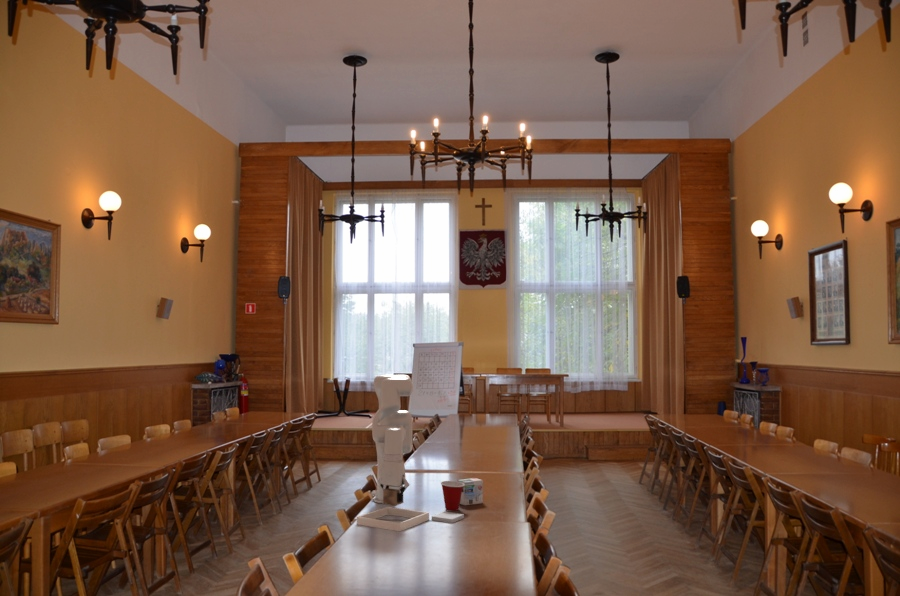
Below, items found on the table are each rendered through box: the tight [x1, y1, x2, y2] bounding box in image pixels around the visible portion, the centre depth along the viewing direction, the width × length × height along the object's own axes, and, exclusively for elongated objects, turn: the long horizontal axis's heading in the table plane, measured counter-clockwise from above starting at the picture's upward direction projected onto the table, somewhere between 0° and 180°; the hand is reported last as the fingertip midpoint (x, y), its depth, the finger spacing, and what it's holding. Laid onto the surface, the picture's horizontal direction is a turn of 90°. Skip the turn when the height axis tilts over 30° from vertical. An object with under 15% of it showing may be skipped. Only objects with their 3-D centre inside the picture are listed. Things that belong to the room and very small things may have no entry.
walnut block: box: [382, 487, 404, 507], centre depth 295 cm, size 6×6×6 cm
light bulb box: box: [456, 477, 484, 506], centre depth 330 cm, size 11×7×11 cm, turn 122°
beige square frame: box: [356, 506, 430, 532], centre depth 293 cm, size 22×22×3 cm
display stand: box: [431, 511, 465, 524], centre depth 299 cm, size 10×10×2 cm
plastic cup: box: [440, 480, 465, 512], centre depth 316 cm, size 11×11×12 cm
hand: (393, 500), depth 295 cm, fingers closed on walnut block, 6 cm apart
